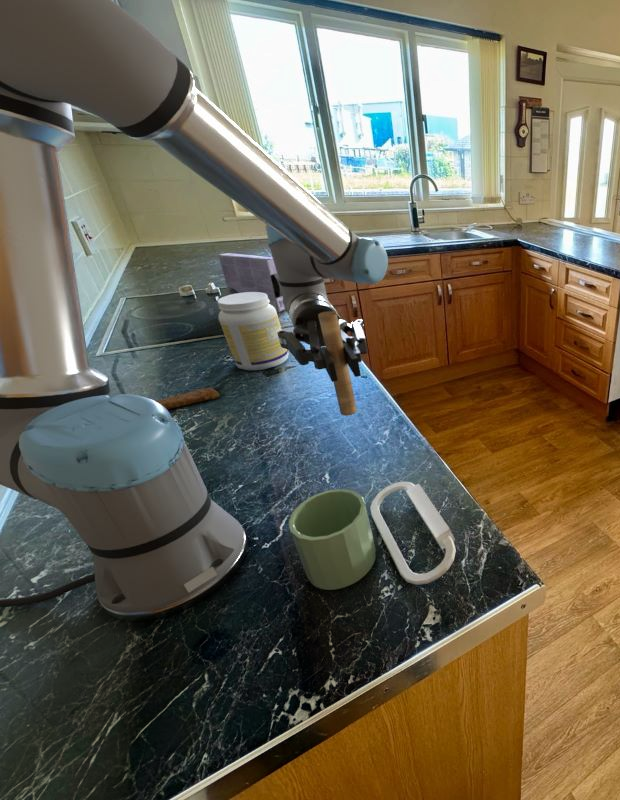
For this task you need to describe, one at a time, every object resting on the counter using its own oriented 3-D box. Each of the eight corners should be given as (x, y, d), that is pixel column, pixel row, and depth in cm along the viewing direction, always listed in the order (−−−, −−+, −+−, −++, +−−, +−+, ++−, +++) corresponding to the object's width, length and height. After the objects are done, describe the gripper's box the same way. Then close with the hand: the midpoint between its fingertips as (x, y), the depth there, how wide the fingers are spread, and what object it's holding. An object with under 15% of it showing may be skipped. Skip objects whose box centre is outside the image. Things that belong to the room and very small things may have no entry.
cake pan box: (291, 308, 148) (277, 255, 139) (281, 312, 144) (266, 259, 135) (243, 304, 151) (226, 252, 142) (232, 308, 146) (214, 255, 138)
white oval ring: (369, 508, 68) (359, 493, 65) (415, 481, 71) (407, 465, 68) (416, 604, 54) (405, 588, 51) (471, 564, 57) (463, 548, 54)
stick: (342, 417, 66) (319, 317, 58) (339, 410, 68) (316, 312, 60) (358, 413, 67) (338, 315, 59) (354, 406, 69) (334, 310, 61)
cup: (312, 601, 52) (293, 551, 48) (302, 553, 58) (285, 504, 54) (383, 570, 56) (372, 521, 52) (366, 528, 62) (355, 481, 58)
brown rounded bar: (212, 389, 97) (206, 375, 95) (222, 396, 94) (216, 382, 92) (101, 425, 84) (92, 410, 82) (109, 435, 81) (100, 419, 79)
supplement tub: (298, 352, 116) (281, 291, 107) (275, 372, 105) (255, 305, 97) (252, 352, 115) (231, 290, 107) (225, 371, 105) (200, 305, 96)
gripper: (364, 333, 81) (403, 381, 64) (272, 348, 74) (289, 407, 57) (357, 294, 77) (397, 334, 60) (260, 305, 70) (273, 355, 53)
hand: (344, 369), depth 59 cm, fingers closed on stick, 2 cm apart
